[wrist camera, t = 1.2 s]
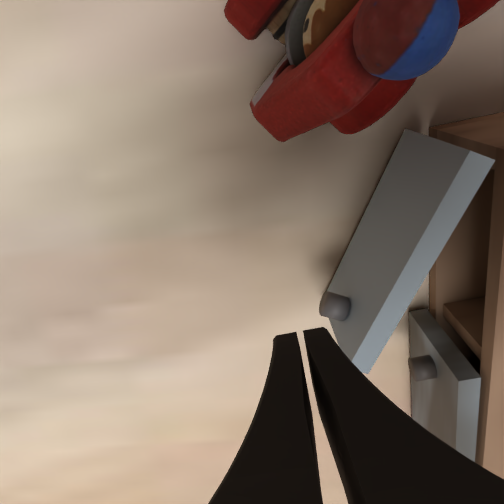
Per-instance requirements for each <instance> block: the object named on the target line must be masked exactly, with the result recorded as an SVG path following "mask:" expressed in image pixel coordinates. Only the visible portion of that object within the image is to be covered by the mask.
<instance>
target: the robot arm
mask: <svg viewBox="0 0 504 504" xmlns="http://www.w3.org/2000/svg"><path fill="white" fill-rule="evenodd" d="M303 333H304V338H305V344H306V350H307V356H308V361H309V367H310V373H311V378H312V383H313V388H314V392H315V397H316V401H317V406H318V410H319V414H320V417H321V420H322V423H323V426H324V429H325V432H326V435H327V438H328V441H329V444H330V447H331V450H332V453H333V456H334V459H335V462H336V465H337V468H338V471H339V474H340V477H341V480H342V483H343V486H344V490H345V493H346V497H347V500H348V504H504V479H502V478H501V477H499V476H497V475H495V474H493V473H492V472H490V471H488V470H487V469H485V468H484V467H482V466H480V465H479V464H477V463H475V462H474V461H472V460H471V459H469V458H467V457H466V456H464V455H463V454H461V453H460V452H458V451H457V450H455V449H454V448H452V447H451V446H449V445H448V444H447V443H445V442H444V441H442V440H441V439H439V438H438V437H436V436H435V435H433V434H432V433H430V432H429V431H428V430H426V429H425V428H424V427H422V426H421V425H420V424H419V423H417V422H416V421H415V420H413V419H412V418H411V417H410V416H408V415H407V414H406V413H405V412H403V411H402V410H401V409H400V408H399V407H397V406H396V405H395V404H394V403H393V402H392V401H390V400H389V399H388V398H387V397H386V396H385V395H384V394H383V393H382V392H381V391H380V390H379V389H378V388H376V387H375V386H374V385H373V384H372V383H371V382H370V381H369V380H368V379H367V378H366V377H365V376H364V375H363V374H362V372H361V371H360V370H359V369H358V368H357V367H356V366H355V365H354V364H353V363H352V362H351V360H350V359H349V358H348V357H347V356H346V355H345V353H344V352H343V351H342V350H341V348H340V347H339V346H338V345H337V343H336V342H335V341H334V339H333V338H332V336H331V335H330V333H329V332H328V330H327V329H325V328H324V327H321V328H315V329H310V330H304V331H303ZM208 504H323V501H322V494H321V487H320V478H319V470H318V461H317V452H316V443H315V435H314V426H313V417H312V411H311V405H310V400H309V394H308V389H307V384H306V378H305V373H304V367H303V362H302V356H301V351H300V346H299V342H298V338H297V334H296V332H293V333H288V334H282V335H277V336H276V337H275V338H274V339H273V351H272V358H271V363H270V367H269V371H268V375H267V379H266V382H265V386H264V389H263V393H262V395H261V398H260V401H259V404H258V407H257V410H256V413H255V415H254V418H253V420H252V423H251V425H250V427H249V430H248V432H247V434H246V436H245V439H244V441H243V443H242V445H241V447H240V449H239V451H238V453H237V455H236V457H235V459H234V461H233V463H232V465H231V467H230V468H229V470H228V472H227V474H226V476H225V477H224V479H223V481H222V482H221V484H220V486H219V487H218V489H217V490H216V492H215V494H214V495H213V497H212V498H211V500H210V502H209V503H208Z"/></svg>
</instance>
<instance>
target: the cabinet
mask: <svg viewBox="0 0 504 504" xmlns="http://www.w3.org/2000/svg"><path fill="white" fill-rule="evenodd" d="M429 137H432V138H435V139H438V140H441V141H444V142H447V143H450V144H453V145H455V146H458V147H461V148H464V149H467V150H470V151H473V152H475V153H478V154H481V155H483V156H486V157H489V158H491V159H494V160H495V162H494V164H493V165H492V167H491V169H490V170H489V172H488V174H487V175H486V177H485V179H484V180H483V182H482V184H481V185H480V187H479V189H478V190H477V192H476V194H475V195H474V197H473V199H472V200H471V202H470V204H469V205H468V207H467V209H466V211H465V212H464V214H463V216H462V217H461V219H460V221H459V222H458V224H457V226H456V227H455V229H454V231H453V232H452V234H451V236H450V237H449V239H448V241H447V242H446V244H445V246H444V247H443V249H442V251H441V252H440V254H439V256H438V257H437V259H436V261H435V263H434V264H433V266H432V268H431V269H430V271H429V311H428V310H427V309H421V310H416V311H410V312H409V328H410V358H409V359H408V364H409V369H410V372H411V398H412V419H413V420H415V421H416V422H417V423H419V424H420V425H421V426H422V427H424V428H425V429H426V430H428V431H429V432H430V433H432V434H433V435H435V436H436V437H438V438H439V439H441V440H442V441H444V442H445V443H447V444H448V445H449V446H451V447H452V448H454V449H455V450H457V451H458V452H460V453H461V454H463V455H464V456H466V457H467V458H469V459H471V460H472V461H474V462H475V463H477V464H479V465H480V466H482V467H484V468H485V469H487V470H488V471H490V472H492V473H493V474H495V475H497V476H499V477H501V478H502V479H504V112H501V113H496V114H491V115H486V116H482V117H477V118H472V119H467V120H462V121H457V122H453V123H448V124H443V125H438V126H433V127H429Z"/></svg>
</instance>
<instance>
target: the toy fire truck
mask: <svg viewBox="0 0 504 504" xmlns="http://www.w3.org/2000/svg"><path fill="white" fill-rule="evenodd" d="M498 1H500V0H228V2H227V4H226V6H225V9H224V13H225V16H226V18H227V20H228V21H229V22H230V23H231V24H232V25H233V26H234V27H235V28H236V29H237V30H238V31H239V32H240V33H241V34H242V35H243V36H244V37H245V38H246V39H248V40H254V39H256V38H257V37H258V36H259V35H260V34H261V32H262V31H263V30H264V29H266V28H267V29H269V31H270V32H271V33H272V34H273V37H274V39H277V40H279V41H280V42H281V43H282V44H284V45H286V55H285V56H284V57H283V58H282V60H281V61H280V62H279V63H278V65H277V66H276V67H275V69H274V70H273V71H272V72H271V74H270V75H269V76H268V77H267V79H266V80H265V81H264V82H263V84H262V85H261V86H260V87H259V89H258V90H257V92H256V93H255V95H254V96H253V98H252V99H251V102H250V106H251V109H252V113H253V115H254V117H255V118H256V120H257V121H258V122H259V123H260V124H261V125H262V126H263V127H264V128H265V129H266V130H267V131H268V132H269V133H270V134H271V135H272V136H273V137H274V138H275V139H277V140H278V141H281V142H285V141H286V140H288V139H290V138H292V137H295V136H297V135H300V134H302V133H305V132H307V131H309V130H311V129H314V128H316V127H318V126H320V125H323V124H325V123H328V122H330V123H331V124H332V125H333V126H334V127H335V128H337V129H338V130H339V131H340V132H341V133H344V134H354V133H357V132H359V131H361V130H363V129H365V128H367V127H369V126H371V125H372V124H373V123H375V122H376V121H378V120H379V119H380V118H382V117H383V116H384V115H385V114H386V113H387V112H388V111H389V110H391V109H392V108H393V107H394V106H395V105H396V104H397V103H398V101H399V100H400V99H401V98H402V97H403V96H404V95H405V94H406V93H407V91H408V90H409V89H410V87H411V86H412V85H413V83H414V82H415V80H416V78H417V77H418V76H420V75H422V74H424V73H426V72H427V71H429V70H430V69H432V68H433V67H434V66H436V65H437V64H438V63H439V62H440V61H441V60H442V58H443V57H444V56H445V55H446V53H447V52H448V50H449V48H450V47H451V45H452V43H453V41H454V38H455V36H456V33H457V31H458V29H460V28H462V27H464V26H465V25H467V24H469V23H471V22H472V21H474V20H475V19H477V18H478V17H479V16H481V15H482V14H483V13H485V12H486V11H487V10H489V9H490V8H491V7H493V6H494V5H495V4H496V3H497V2H498Z"/></svg>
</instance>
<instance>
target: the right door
mask: <svg viewBox="0 0 504 504" xmlns="http://www.w3.org/2000/svg"><path fill="white" fill-rule="evenodd" d="M494 162H495V160H494V159H491V158H489V157H486V156H483V155H481V154H478V153H475V152H473V151H470V150H467V149H464V148H461V147H458V146H455V145H453V144H450V143H447V142H444V141H441V140H438V139H435V138H432V137H429V136H426V135H423V134H420V133H418V132H415V131H412V130H409V129H406V128H405V130H404V132H403V134H402V136H401V138H400V140H399V142H398V144H397V147H396V149H395V151H394V153H393V155H392V157H391V159H390V161H389V163H388V165H387V167H386V169H385V171H384V173H383V176H382V178H381V180H380V182H379V184H378V186H377V188H376V190H375V192H374V194H373V196H372V198H371V200H370V202H369V205H368V207H367V209H366V211H365V213H364V215H363V217H362V219H361V221H360V223H359V225H358V227H357V229H356V231H355V234H354V236H353V238H352V240H351V242H350V244H349V246H348V248H347V250H346V252H345V254H344V256H343V258H342V260H341V263H340V265H339V267H338V269H337V271H336V273H335V275H334V277H333V279H332V281H331V283H330V285H329V287H328V289H327V291H326V292H325V293H324V294H323V296H322V298H321V301H320V306H319V313H320V315H321V316H324V317H328V318H329V320H330V323H331V326H332V328H333V331H334V334H335V336H336V339H337V342H338V345H339V347H340V348H341V350H342V351H343V352H344V353H345V355H346V356H347V357H348V358H349V359H350V360H351V362H352V363H353V364H354V365H355V366H356V367H357V368H358V369H359V370H360V371H361V372H362V373H366V374H368V373H369V372H370V370H371V368H372V367H373V365H374V363H375V362H376V360H377V358H378V356H379V355H380V353H381V351H382V350H383V348H384V346H385V345H386V343H387V341H388V340H389V338H390V336H391V335H392V333H393V331H394V330H395V328H396V326H397V325H398V323H399V321H400V320H401V318H402V316H403V315H404V313H405V311H406V310H407V308H408V306H409V304H410V303H411V301H412V299H413V298H414V296H415V294H416V293H417V291H418V289H419V288H420V286H421V284H422V283H423V281H424V279H425V278H426V276H427V274H428V273H429V271H430V269H431V268H432V266H433V264H434V263H435V261H436V259H437V257H438V256H439V254H440V252H441V251H442V249H443V247H444V246H445V244H446V242H447V241H448V239H449V237H450V236H451V234H452V232H453V231H454V229H455V227H456V226H457V224H458V222H459V221H460V219H461V217H462V216H463V214H464V212H465V211H466V209H467V207H468V205H469V204H470V202H471V200H472V199H473V197H474V195H475V194H476V192H477V190H478V189H479V187H480V185H481V184H482V182H483V180H484V179H485V177H486V175H487V174H488V172H489V170H490V169H491V167H492V165H493V164H494Z"/></svg>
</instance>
